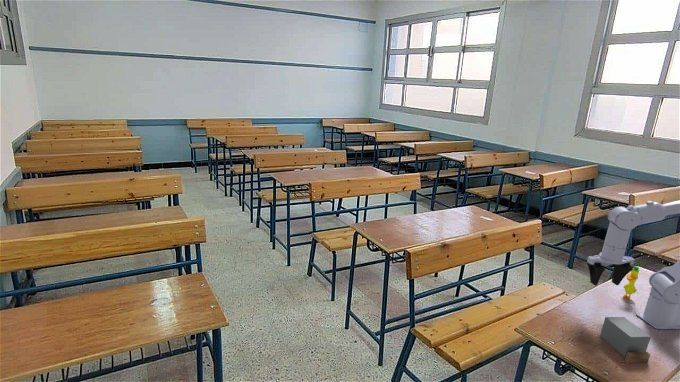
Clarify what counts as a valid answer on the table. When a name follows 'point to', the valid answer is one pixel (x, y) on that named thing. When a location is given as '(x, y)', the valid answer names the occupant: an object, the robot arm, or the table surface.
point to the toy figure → (631, 282)
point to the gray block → (624, 335)
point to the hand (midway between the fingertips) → (604, 283)
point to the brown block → (637, 357)
